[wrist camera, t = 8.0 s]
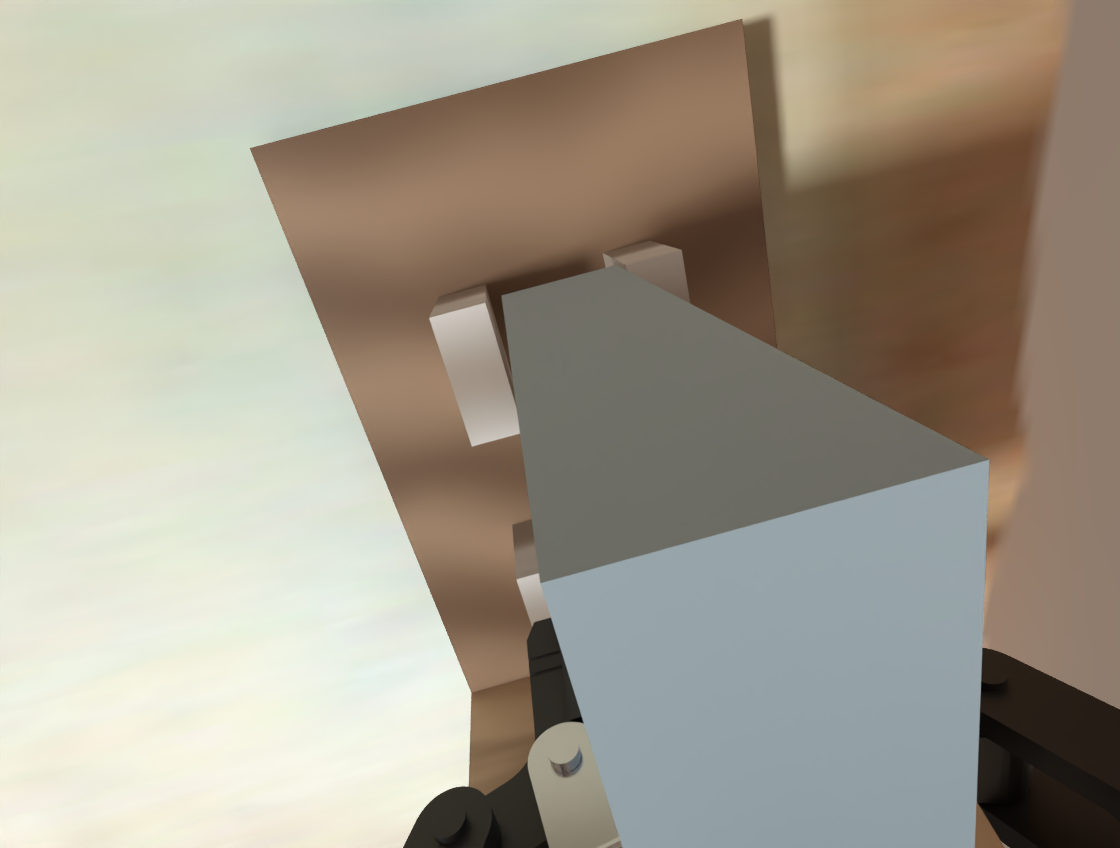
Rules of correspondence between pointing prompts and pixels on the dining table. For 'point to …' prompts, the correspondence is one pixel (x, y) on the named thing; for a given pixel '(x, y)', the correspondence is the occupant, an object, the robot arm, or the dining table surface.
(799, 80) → the dining table surface
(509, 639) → the hinge base
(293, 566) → the dining table surface
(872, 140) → the dining table surface
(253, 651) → the dining table surface
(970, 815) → the door
